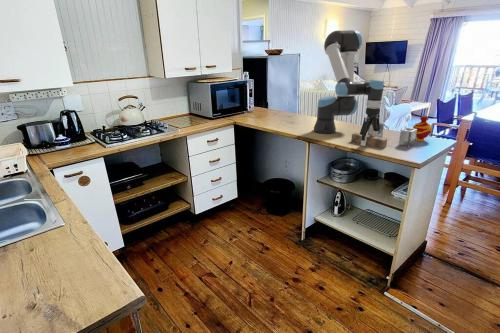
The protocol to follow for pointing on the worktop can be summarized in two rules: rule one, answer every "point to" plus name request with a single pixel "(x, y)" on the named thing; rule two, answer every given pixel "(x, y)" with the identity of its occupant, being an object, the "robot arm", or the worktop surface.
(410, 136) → the bracket
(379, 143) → the rail
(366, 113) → the robot arm
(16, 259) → the worktop surface
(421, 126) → the potion bottle
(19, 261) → the worktop surface
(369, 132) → the bracket
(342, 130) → the worktop surface
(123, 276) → the worktop surface
